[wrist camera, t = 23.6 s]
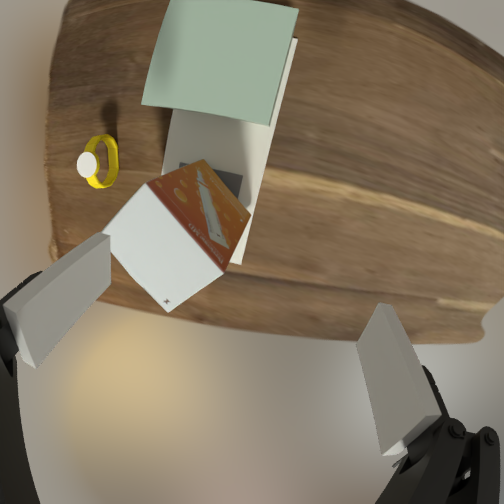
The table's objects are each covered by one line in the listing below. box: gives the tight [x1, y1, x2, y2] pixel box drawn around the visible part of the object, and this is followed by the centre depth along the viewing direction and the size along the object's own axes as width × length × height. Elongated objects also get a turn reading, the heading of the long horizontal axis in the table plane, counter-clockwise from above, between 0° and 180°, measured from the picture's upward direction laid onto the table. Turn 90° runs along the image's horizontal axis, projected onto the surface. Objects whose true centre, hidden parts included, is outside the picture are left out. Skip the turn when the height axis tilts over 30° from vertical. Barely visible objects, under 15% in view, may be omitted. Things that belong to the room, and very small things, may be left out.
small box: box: [100, 159, 251, 312], centre depth 24 cm, size 8×6×13 cm
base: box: [162, 38, 298, 265], centre depth 28 cm, size 11×26×1 cm, turn 167°
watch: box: [77, 134, 119, 188], centre depth 27 cm, size 6×3×6 cm, turn 179°
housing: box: [141, 0, 299, 127], centre depth 21 cm, size 10×10×9 cm
